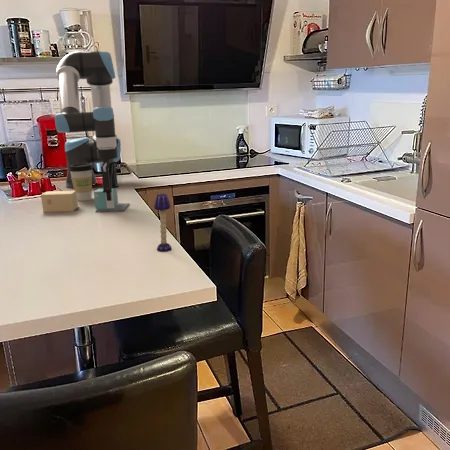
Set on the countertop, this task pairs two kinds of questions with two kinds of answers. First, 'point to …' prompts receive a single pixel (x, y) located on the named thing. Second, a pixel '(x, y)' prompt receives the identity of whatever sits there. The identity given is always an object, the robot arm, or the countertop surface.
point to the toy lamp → (162, 220)
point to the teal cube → (103, 199)
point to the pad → (118, 208)
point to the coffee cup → (82, 181)
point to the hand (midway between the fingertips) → (112, 206)
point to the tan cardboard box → (59, 201)
